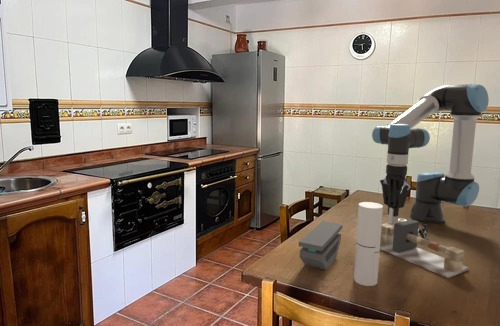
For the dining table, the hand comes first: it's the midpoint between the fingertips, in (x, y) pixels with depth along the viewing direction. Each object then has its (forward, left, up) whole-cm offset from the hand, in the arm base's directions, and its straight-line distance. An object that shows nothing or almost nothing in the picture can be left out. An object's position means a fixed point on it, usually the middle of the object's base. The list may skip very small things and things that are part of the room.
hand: (392, 223), depth 146 cm
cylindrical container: (+31, +15, -10) cm, 36 cm away
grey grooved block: (+34, -3, -10) cm, 35 cm away
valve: (-17, -3, -10) cm, 20 cm away
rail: (0, +11, -9) cm, 15 cm away
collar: (0, +6, -8) cm, 10 cm away
